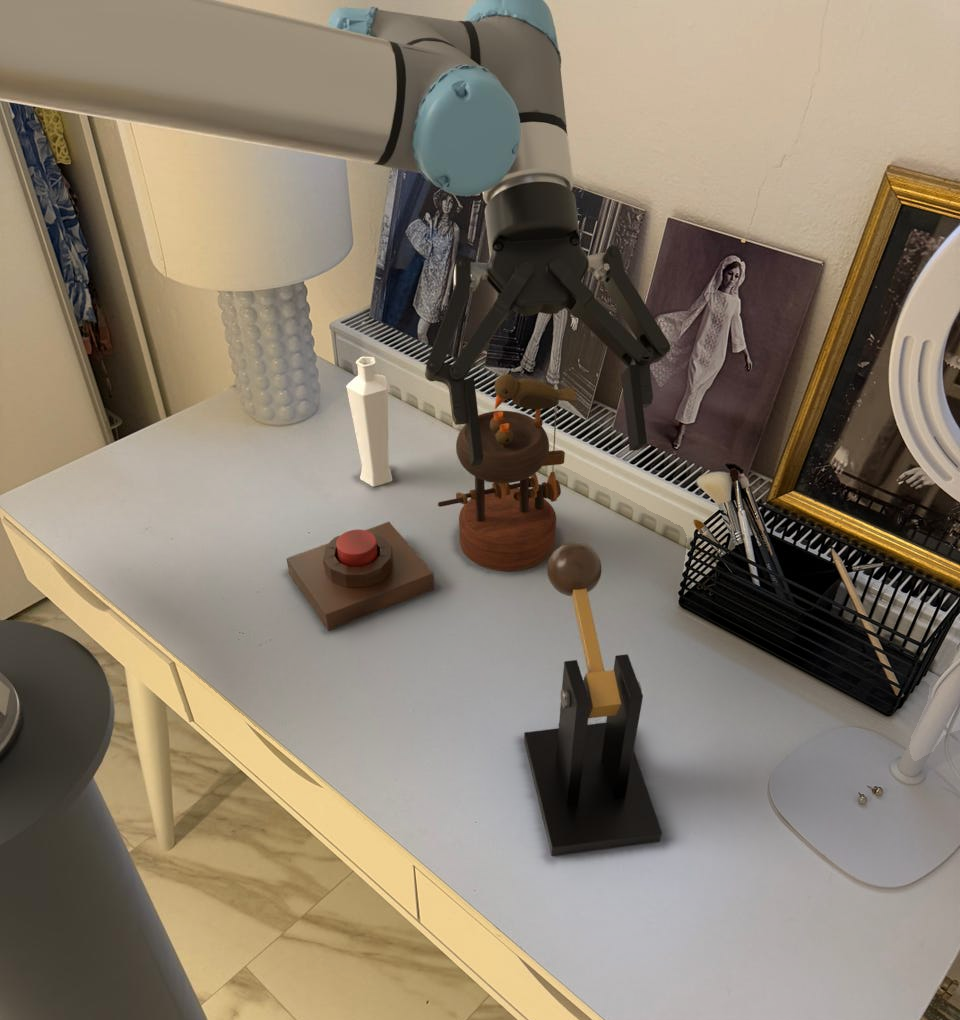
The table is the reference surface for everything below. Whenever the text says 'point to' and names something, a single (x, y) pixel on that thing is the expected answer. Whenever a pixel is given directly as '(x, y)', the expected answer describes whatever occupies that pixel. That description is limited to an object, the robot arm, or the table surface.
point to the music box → (511, 480)
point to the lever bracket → (592, 770)
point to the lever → (585, 620)
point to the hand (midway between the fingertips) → (558, 455)
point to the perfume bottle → (371, 421)
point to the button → (356, 548)
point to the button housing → (360, 578)
